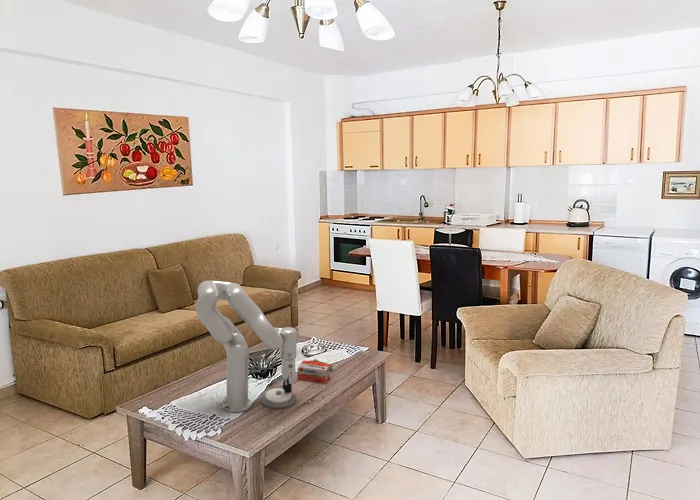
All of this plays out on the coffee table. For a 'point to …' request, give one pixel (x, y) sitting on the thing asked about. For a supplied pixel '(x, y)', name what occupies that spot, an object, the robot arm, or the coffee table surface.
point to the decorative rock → (321, 362)
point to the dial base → (277, 405)
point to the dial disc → (278, 395)
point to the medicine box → (313, 372)
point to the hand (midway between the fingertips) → (287, 390)
